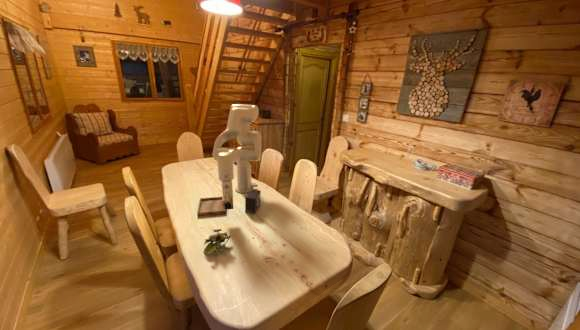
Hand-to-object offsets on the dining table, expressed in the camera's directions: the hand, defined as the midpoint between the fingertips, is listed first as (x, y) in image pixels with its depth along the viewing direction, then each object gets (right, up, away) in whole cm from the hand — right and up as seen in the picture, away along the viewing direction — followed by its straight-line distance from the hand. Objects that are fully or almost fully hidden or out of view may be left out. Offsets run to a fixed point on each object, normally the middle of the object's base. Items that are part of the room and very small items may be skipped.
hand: (228, 205), depth 129 cm
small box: (+11, -5, +16) cm, 21 cm away
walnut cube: (0, -1, 0) cm, 1 cm away
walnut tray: (-13, -4, +16) cm, 21 cm away
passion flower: (0, -17, -18) cm, 25 cm away
